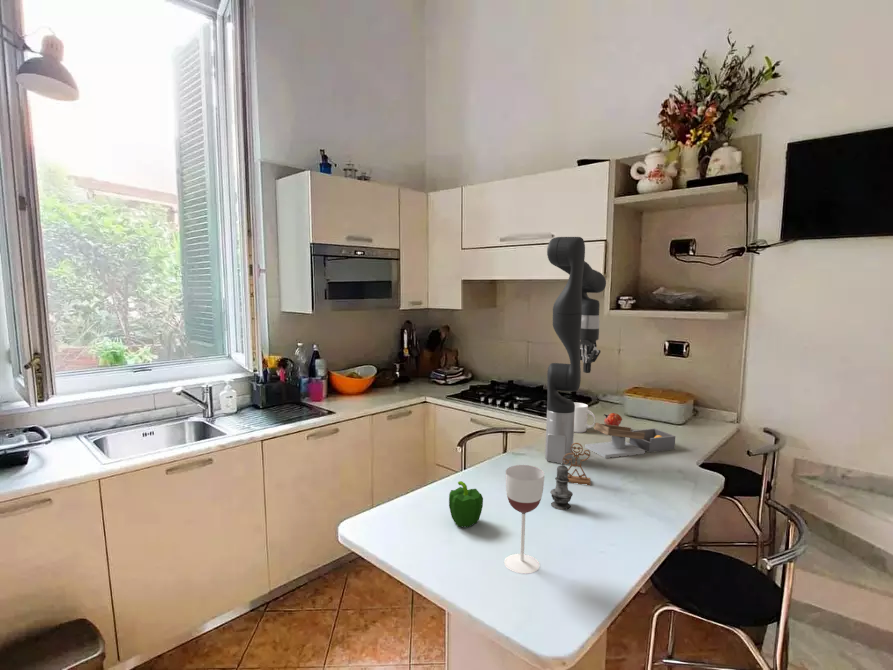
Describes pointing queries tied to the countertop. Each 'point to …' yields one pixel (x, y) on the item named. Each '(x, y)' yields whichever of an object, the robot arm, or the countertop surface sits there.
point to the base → (614, 448)
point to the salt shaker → (561, 490)
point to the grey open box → (654, 440)
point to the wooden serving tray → (618, 431)
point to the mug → (582, 418)
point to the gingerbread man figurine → (579, 478)
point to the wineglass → (523, 509)
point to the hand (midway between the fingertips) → (586, 372)
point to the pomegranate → (613, 419)
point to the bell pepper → (465, 505)
